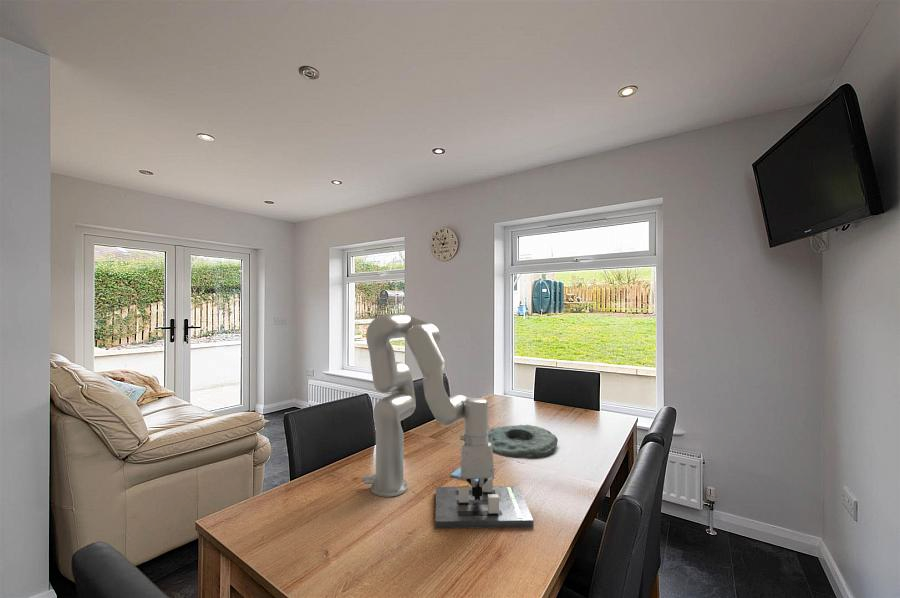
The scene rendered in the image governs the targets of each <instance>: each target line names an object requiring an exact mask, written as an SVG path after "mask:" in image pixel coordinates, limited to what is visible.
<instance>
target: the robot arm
mask: <svg viewBox="0 0 900 598" xmlns="http://www.w3.org/2000/svg"><path fill="white" fill-rule="evenodd" d="M365 337H366V345H367V349H368V352H369V359H370V367H371V369H370V370H371V375H372V382H373V386H374V388H375V390H376V391H377V392H378V393H381V394H386V393H391V394H390V395H387V396H385V397H383V398H381V399H379V400H378V401H377V402H376V403H375V405H374V407H373V412H372V413H373V420H374V421H373V422H374V426H375V427H374V428H375V429H374V430H375V474H372V475H363V476H362V482H364V484H365V485H371V486H370V491H371V493H373V494H374V495H376V496H378V497H385V498H389V497H396V496H399V495H402V494H404V493H405V492H407V490H408V488H409V483H408V482H407V480H405V479H404V462H405V461H404V445H405V444H404V442H405V441H404V439H405V437H404V430H403V428H402V425H401V421H403V420H405V419H407V418H408V417H410V416H412V414H414V412H415V410H416V405H417V403H416V395H415V387H414V381H413V376H412V372H411V369H410V368H409V366H408V365H407V364H406V363H404V362H401V361H396V356H395V349H394V348H393V345H392V344H391V343H390V340H392V339H398V338H399V339H400V338H403V339H404V338H405V341H406V342H407V343H406V344H407V345H408V347H409V350H410V351H411V354H412V355H413V357H414V360H415V361H416V362H415V363H417V365H418V368H419V370H420V371H421V374H422V386H423V394H424V399H425V401H426V404H427V405H428V407H429V410H430V411H431V413H432V415H433V417H434V419H435V420H436V421H437V422H438V423H439V424H441V425H443V426H450V425H452V424H454V423H456V422H458V421H459V420H462V419H463V420H464V421H463V422H464V432H463V434H462V435H459V440H460V441H463V442H462V445H461V451H460V466H459V468H460V467H461V473H460V479H459V480H461V481H465V482H467V483H468V484H469V486H470V485H471V487H472V496H474V498H475V500H477V499H478V500H480V496H482V487H483V485H484V484H485V483H486V482H487V480H492V479H493V480H494V479H495V470H494V468H495V465H494V453H493V451H492V445H491V443H490V442H489V431H490V430H489V429H490V428H489V427H490V426H489V402H488V401H487V400H486V399H485V398H483V397H482V398H481V397H469V396H465V395H463V394H462V395H461V394H453V395H451V396H449V395H448V393H447V391H446V387H445V384H444V372H445V369H446V359H444V357H443V355H442V353H441V351H440V348H439V347H438V344H439V343H440V340H441V332H440V330H439V329H438V327H437V326H436V325H435V324H433V323H430V322H428V321H426V320H423V319H420V318H417V317H415V316H413V315H410V314H405V313H395V314H394V313H391V314H390V313H389V314H388V313H387V314H382V315H379V316H378V317H377V316H376V317H375V318H374V319H373V320H371V322H370V323H369V324H368V326H367V329H366V334H365ZM475 479H479V480H478V483H476V482H475Z"/></svg>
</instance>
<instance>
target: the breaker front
mask: <svg viewBox="0 0 900 598" xmlns="http://www.w3.org/2000/svg"><path fill="white" fill-rule="evenodd" d="M488 513H499V496H498V494H488Z"/></svg>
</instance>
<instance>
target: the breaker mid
mask: <svg viewBox="0 0 900 598" xmlns="http://www.w3.org/2000/svg"><path fill="white" fill-rule="evenodd" d="M458 487H459V502H469V487H470V484H469V483H468V482H467V483H466V482H465V483H458Z"/></svg>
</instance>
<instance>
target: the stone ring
mask: <svg viewBox="0 0 900 598" xmlns="http://www.w3.org/2000/svg"><path fill="white" fill-rule="evenodd" d="M516 439H517V440H516ZM519 439H522V440H519ZM558 441H559V440H558V438H557V436H556V435H555V434H554V433H552V432H551V431H549V430H548V429H545V428H544V427H541V426H537V425H531V424H519V425H517V424H516V425H504V426H497V427H496V428H495V427H493V428H491V429H490V430H489V442H490V443H491V445H492V451H493V454H497V455H501V456H503V457H504V456H505V457H509V458H525V459H538V458H543V457H546V456H549V455H550V454H552V453H553V452H555V451H556V448H557V445H558Z"/></svg>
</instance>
